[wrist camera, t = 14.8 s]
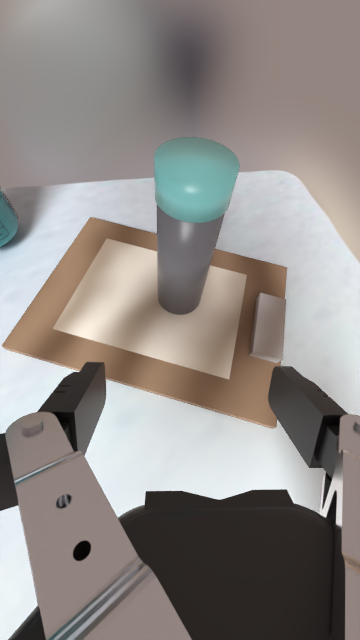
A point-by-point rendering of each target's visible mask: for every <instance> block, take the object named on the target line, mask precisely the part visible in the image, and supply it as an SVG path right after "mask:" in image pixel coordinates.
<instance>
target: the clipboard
mask: <svg viewBox="0 0 360 640" xmlns="http://www.w3.org/2000/svg"><path fill="white" fill-rule="evenodd" d="M286 272H287V267H283V266H279V265H276V264H272V263H268V262H264V261H260V260H256V259H252V258H248V257H244V256H240V255H236V254H233V253H229V252H225V251H221V250H217V249H215V250H214V253H213V257H212V260H211V264H210V267H209V271H208V275H207V278H206V282H205V285H204V289H203V292H202V296H201V300H200V303H199V305H198V307H197V308H196V309H195V310H194V311H192V312H190V313H188V314H184V315H176V314H172V313H170V312H168V311H166V310H165V309H163V308H162V306H161V305H160V303H159V301H158V279H157V234H155V233H151V232H147V231H143V230H139V229H135V228H131V227H127V226H123V225H119V224H115V223H112V222H108V221H104V220H100V219H96V218H92V217H90V219H89V220H88V221H87V223H86V224H85V226H84V227H83V229H82V230H81V232H80V233H79V234H78V236H77V237H76V239H75V240H74V242H73V243H72V245H71V246H70V248H69V249H68V250H67V252H66V253H65V255H64V256H63V258H62V259H61V261H60V262H59V263H58V265H57V266H56V268H55V269H54V271H53V272H52V274H51V275H50V277H49V278H48V279H47V281H46V282H45V284H44V285H43V287H42V288H41V290H40V291H39V292H38V294H37V295H36V297H35V298H34V300H33V301H32V303H31V304H30V306H29V307H28V308H27V310H26V311H25V313H24V314H23V316H22V317H21V319H20V320H19V321H18V323H17V324H16V326H15V327H14V329H13V330H12V332H11V333H10V335H9V336H8V337H7V339H6V340H5V342H4V343H3V345H2V347H4V348H5V349H7V350H10V351H13V352H17V353H20V354H23V355H27V356H30V357H33V358H37V359H40V360H44V361H47V362H50V363H54V364H57V365H60V366H64V367H67V368H71V369H74V370H77V371H80V370H81V369H82V367H83V366H84V365H85V363H86V362H104V364H105V378H106V379H108V380H111V381H114V382H118V383H121V384H124V385H128V386H131V387H135V388H138V389H141V390H145V391H148V392H151V393H155V394H158V395H161V396H165V397H168V398H172V399H175V400H178V401H182V402H185V403H188V404H192V405H195V406H199V407H202V408H205V409H209V410H212V411H215V412H219V413H222V414H225V415H229V416H232V417H236V418H239V419H242V420H246V421H249V422H252V423H256V424H259V425H263V426H266V427H269V428H276V424H277V417H276V416H275V414H274V413H273V411H272V410H271V408H270V406H269V402H268V393H269V387H270V382H271V376H272V371H273V368H274V367H275V366H280V363H281V360H282V356H283V340H284V324H285V309H286V299H285V288H286Z"/></svg>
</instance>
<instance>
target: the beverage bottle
mask: <svg viewBox="0 0 360 640" xmlns="http://www.w3.org/2000/svg"><path fill="white" fill-rule="evenodd" d="M0 190H1V188H0ZM3 194H4V193H3ZM3 194H2V192H1V191H0V247H1V246H3V245H4V244H6V243H8V242H9V241H10V240H11V239H12V238H13V237H14V236H15V234H16V233H17V230H18V221H17V219H18V217H16V215H15V213H14V212H13V210H14V209H12V208H11V207H12V206H10V205H9V204H8V202H9V201H8V202H7V200H6V199H7V197H6V196H5V197H6V199H5V197H4V195H3ZM14 211H15V210H14Z"/></svg>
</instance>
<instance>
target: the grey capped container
mask: <svg viewBox="0 0 360 640" xmlns="http://www.w3.org/2000/svg"><path fill="white" fill-rule="evenodd" d="M154 162H155V199H156V202H157V279H158V301H159V303H160V305H161V306H162V308H163V309H165V310H166V311H168V312H170V313H172V314H176V315H184V314H188V313H190V312H192V311H194V310H195V309H196V308H197V307H198V305H199V303H200V300H201V296H202V292H203V289H204V285H205V282H206V278H207V275H208V271H209V267H210V264H211V260H212V257H213V253H214V250H215V246H216V242H217V239H218V235H219V232H220V228H221V225H222V221H223V217H224V214H225V212H226V210H227V209H228V206H229V203H230V199H231V196H232V192H233V189H234V185H235V182H236V178H237V175H238V171H239V161H238V159H237V157H236V155H235V154H234V153H233V152H232V151H231V150H230V149H228V148H227V147H225V146H224V145H222V144H220V143H217V142H215V141H212V140H208V139H203V138H197V137H182V138H176V139H172V140H169V141H167V142H165V143H163V144H162V145H160V146H159V147H158V149H157V150H156V152H155V156H154Z"/></svg>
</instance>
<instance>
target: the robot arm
mask: <svg viewBox="0 0 360 640" xmlns="http://www.w3.org/2000/svg"><path fill="white" fill-rule="evenodd" d="M105 400H106V378H105V364H104V362H86V363H85V365H84V366H83V367H82V369H81V370H80V372H73V373H71V374H70V375H68V376H67V377H65V378H64V379H63V380H62V381H61V382H60V384H59V385H58V387H57V388H56V389H55V390H54V392H53V393H52V394H51V395H50V396H49V398H48V399H47V400H46V401H45V403H44V404H43V405H42V407H41V408H40V409H39V410H38V412H36V413H32V414H28V415H26V416H23V417H21V418H19V419H18V420H16V421H15V422H13V423H12V424H11V425H10V426H9V427H8V429H7V430H6V433H3V434H0V511H1V510H4V509H8V508H11V507H14V506H17V505H19V510H20V515H21V520H22V526H23V531H24V536H25V541H26V546H27V551H28V556H29V561H30V566H31V571H32V577H33V582H34V587H35V592H36V597H37V602H38V606H37V607H36V608H35V609H34V611H33V612H32V613H31V614H30V615H29V616H28V617H27V619H26V620H25V621H24V622H23V623H22V624H21V626H20V627H19V628H18V629H17V630H16V631H15V632H14V634H13V635H12V636H11V637H10V638H9V639H8V640H360V416H357V415H351V414H348V413H346V412H345V411H344V410H343V409H342V408H341V407H340V406H339V405H338V404H337V403H336V402H334V401H333V400H332V399H331V398H330V397H328V395H327V394H326V393H325V392H323V391H322V390H321V389H320V388H319V387H318V386H317V385H316V384H315V383H313V382H312V381H310V380H308V379H306V378H304V377H303V376H302V375H300V374H299V373H298V372H297V371H296V370H295V369H294V368H293V367H290V366H275V367H274V368H273V371H272V376H271V382H270V387H269V393H268V402H269V406H270V408H271V410H272V411H273V413H274V414H275V416H276V417H277V419H278V421H279V422H280V424H281V425H282V427H283V428H284V430H285V431H286V433H287V434H288V436H289V437H290V439H291V441H292V442H293V444H294V445H295V447H296V448H297V450H298V451H299V453H300V454H301V456H302V457H303V459H304V461H305V462H306V464H307V465H308V467H309V468H324V470H325V473H324V477H323V483H322V492H321V502H320V511H319V514H318V513H317V512H315V511H312V510H310V509H308V508H306V507H303V506H300V505H298V504H294V503H293V502H292V500H291V498H290V496H289V494H288V492H287V490H251V491H248V492H245V493H242V494H238V495H235V496H232V497H229V498H225V499H222V500H217V499H212V498H208V497H204V496H200V495H196V494H192V493H188V492H184V491H146V496H145V505H142V506H139V507H137V508H134V509H132V510H130V511H128V512H126V513H124V514H123V515H121V516H120V517H118V518H117V516H116V514H115V512H114V511H113V509H112V507H111V505H110V503H109V501H108V499H107V498H106V496H105V494H104V492H103V490H102V488H101V486H100V485H99V483H98V481H97V479H96V477H95V475H94V474H93V472H92V470H91V468H90V466H89V464H88V462H87V461H86V459H85V457H84V456H85V453H86V451H87V448H88V445H89V443H90V440H91V438H92V435H93V433H94V430H95V428H96V425H97V423H98V420H99V418H100V415H101V413H102V410H103V408H104V405H105Z"/></svg>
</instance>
